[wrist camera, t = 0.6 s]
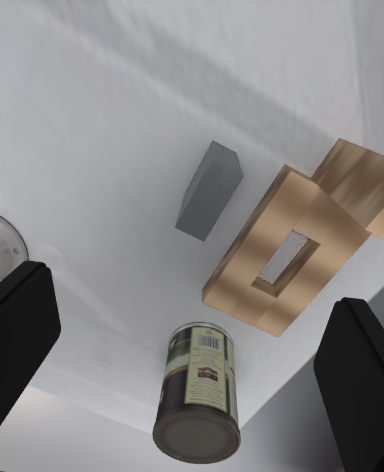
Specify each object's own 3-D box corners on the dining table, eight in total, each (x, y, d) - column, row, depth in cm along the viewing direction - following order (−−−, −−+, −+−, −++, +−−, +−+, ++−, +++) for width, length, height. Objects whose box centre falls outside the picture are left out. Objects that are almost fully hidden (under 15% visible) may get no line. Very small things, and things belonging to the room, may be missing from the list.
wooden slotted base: (275, 322, 44) (298, 415, 31) (202, 289, 42) (197, 373, 30) (401, 174, 33) (512, 225, 21) (312, 122, 32) (375, 143, 19)
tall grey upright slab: (207, 204, 37) (204, 241, 28) (185, 193, 36) (175, 227, 27) (236, 153, 34) (243, 176, 25) (212, 140, 33) (211, 158, 24)
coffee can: (177, 372, 50) (164, 466, 38) (162, 325, 46) (141, 415, 33) (238, 366, 49) (246, 464, 36) (228, 318, 44) (233, 409, 32)
